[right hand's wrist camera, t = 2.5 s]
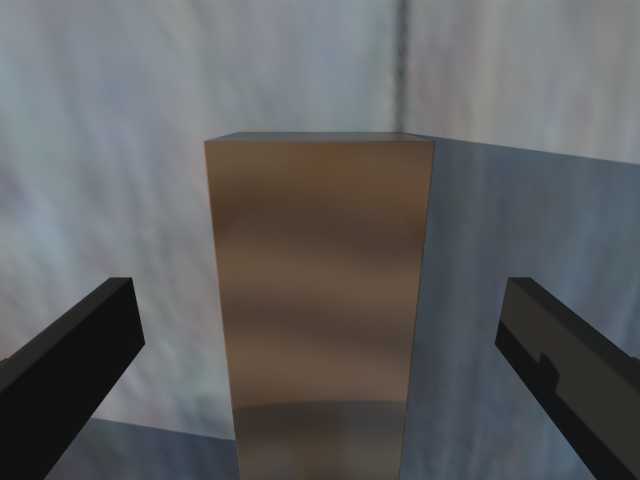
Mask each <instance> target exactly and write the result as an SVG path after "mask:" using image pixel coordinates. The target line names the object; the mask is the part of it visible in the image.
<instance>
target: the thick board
mask: <svg viewBox="0 0 640 480" xmlns="http://www.w3.org/2000/svg"><path fill="white" fill-rule="evenodd" d="M203 147H204V157H205V166H206V175H207V184H208V193H209V202H210V211H211V221H212V230H213V239H214V248H215V257H216V266H217V275H218V284H219V294H220V303H221V312H222V321H223V330H224V339H225V348H226V358H227V367H228V376H229V385H230V394H231V403H232V412H233V421H234V431H235V440H236V449H237V458H238V467H239V476H240V480H399V473H400V464H401V454H402V445H403V436H404V426H405V417H406V408H407V399H408V389H409V380H410V371H411V361H412V352H413V343H414V334H415V324H416V315H417V306H418V296H419V287H420V278H421V268H422V259H423V250H424V241H425V231H426V222H427V213H428V203H429V194H430V185H431V175H432V166H433V157H434V148H435V142H434V141H431V140H427V139H424V138H420V137H416V136H413V135H409V134H405V133H402V132H237V133H233V134H229V135H226V136H222V137H218V138H214V139H211V140H207V141H204V142H203Z"/></svg>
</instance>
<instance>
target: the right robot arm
mask: <svg viewBox="0 0 640 480" xmlns="http://www.w3.org/2000/svg"><path fill="white" fill-rule="evenodd" d="M144 345H145V340H144V335H143V330H142V325H141V320H140V315H139V311H138V306H137V301H136V296H135V291H134V286H133V281H132V278H109V279H107V280H106V281H105V282H104V283H102V284H101V285H100V286H99V287H97V288H96V289H95V290H94V291H92V292H91V293H90V294H89V295H87V296H86V297H85V298H83V299H82V300H81V301H80V302H78V303H77V304H76V305H75V306H73V307H72V308H71V309H70V310H68V311H67V312H66V313H65V314H63V315H62V316H61V317H60V318H58V319H57V320H56V321H55V322H53V323H52V324H51V325H50V326H48V327H47V328H46V329H45V330H43V331H42V332H41V333H39V334H38V335H37V336H36V337H34V338H33V339H32V340H31V341H29V342H28V343H27V344H26V345H24V346H23V347H22V348H21V349H19V350H18V351H17V352H16V353H14V354H13V355H12V356H11V357H9V358H8V359H4V360H2V361H0V480H44V478H45V477H46V476H47V474H48V473H49V472H50V470H51V469H52V468H53V466H54V465H55V464H56V462H57V461H58V460H59V458H60V457H61V456H62V454H63V453H64V452H65V450H66V449H67V448H68V446H69V445H70V444H71V442H72V441H73V440H74V438H75V437H76V436H77V434H78V433H79V432H80V430H81V429H82V428H83V426H84V425H85V424H86V422H87V421H88V420H89V418H90V417H91V416H92V414H93V413H94V412H95V410H96V409H97V408H98V406H99V405H100V404H101V402H102V401H103V400H104V398H105V397H106V396H107V394H108V393H109V391H110V390H111V389H112V387H113V386H114V385H115V383H116V382H117V381H118V379H119V378H120V377H121V375H122V374H123V373H124V371H125V370H126V369H127V367H128V366H129V365H130V363H131V362H132V361H133V359H134V358H135V357H136V355H137V354H138V353H139V351H140V350H141V349H142V347H143V346H144ZM495 345H496V346H497V347H498V349H499V350H500V351H501V353H502V354H503V355H504V357H505V358H506V359H507V361H508V362H509V363H510V365H511V366H512V367H513V369H514V370H515V371H516V373H517V374H518V375H519V377H520V378H521V379H522V381H523V382H524V383H525V385H526V386H527V387H528V389H529V390H530V391H531V393H532V394H533V396H534V397H535V398H536V400H537V401H538V402H539V404H540V405H541V406H542V408H543V409H544V410H545V412H546V413H547V414H548V416H549V417H550V418H551V420H552V421H553V422H554V424H555V425H556V426H557V428H558V429H559V430H560V432H561V433H562V434H563V436H564V437H565V438H566V440H567V441H568V442H569V444H570V445H571V446H572V448H573V449H574V450H575V452H576V453H577V454H578V456H579V457H580V458H581V460H582V461H583V462H584V464H585V465H586V466H587V468H588V469H589V470H590V472H591V473H592V474H593V476H594V477H595V478H596V480H640V360H639V359H637V358H635V357H629V356H628V355H627V354H626V353H624V352H623V351H622V350H621V349H619V348H618V347H617V346H616V345H614V344H613V343H612V342H611V341H609V340H608V339H607V338H606V337H604V336H603V335H602V334H601V333H599V332H598V331H597V330H595V329H594V328H593V327H592V326H590V325H589V324H588V323H587V322H585V321H584V320H583V319H582V318H580V317H579V316H578V315H577V314H575V313H574V312H573V311H572V310H570V309H569V308H568V307H567V306H565V305H564V304H563V303H562V302H560V301H559V300H558V299H557V298H555V297H554V296H553V295H551V294H550V293H549V292H548V291H546V290H545V289H544V288H543V287H541V286H540V285H539V284H538V283H536V282H535V281H534V280H533V279H531V278H508V281H507V286H506V291H505V296H504V301H503V306H502V311H501V315H500V320H499V325H498V330H497V335H496V340H495Z"/></svg>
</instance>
